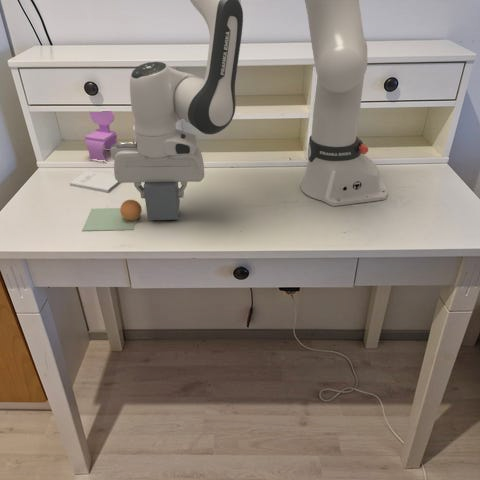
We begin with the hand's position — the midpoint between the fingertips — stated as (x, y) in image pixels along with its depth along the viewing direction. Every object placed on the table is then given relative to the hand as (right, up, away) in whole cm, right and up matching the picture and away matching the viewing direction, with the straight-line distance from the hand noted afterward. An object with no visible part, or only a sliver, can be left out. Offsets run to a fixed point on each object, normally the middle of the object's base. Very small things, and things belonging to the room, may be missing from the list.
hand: (162, 196), depth 110 cm
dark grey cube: (0, -3, +2) cm, 4 cm away
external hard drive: (-21, +5, +19) cm, 29 cm away
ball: (-8, -3, +2) cm, 9 cm away
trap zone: (-13, -5, +3) cm, 14 cm away
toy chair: (-23, +15, +33) cm, 43 cm away
